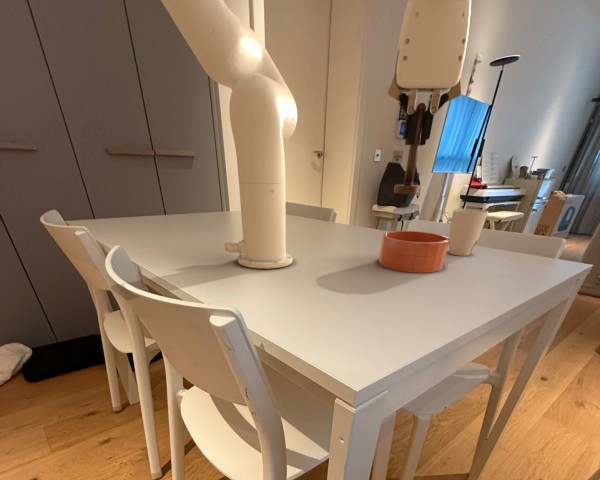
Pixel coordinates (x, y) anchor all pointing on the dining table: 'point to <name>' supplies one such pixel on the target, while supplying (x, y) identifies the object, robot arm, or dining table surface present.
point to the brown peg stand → (413, 155)
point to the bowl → (413, 251)
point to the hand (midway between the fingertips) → (414, 144)
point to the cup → (465, 230)
